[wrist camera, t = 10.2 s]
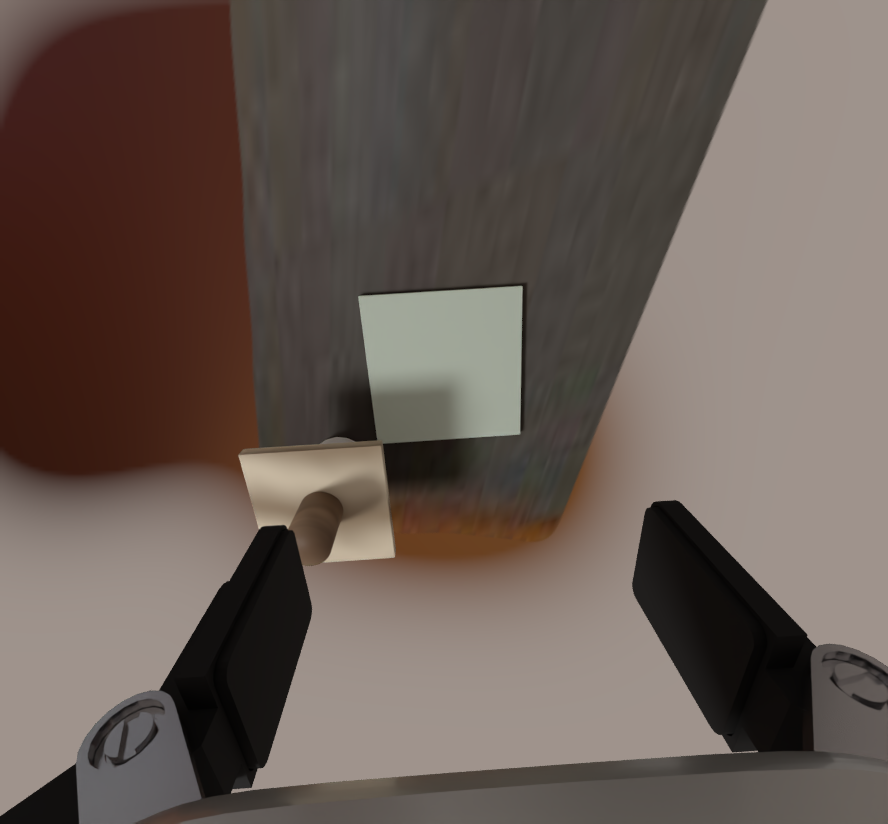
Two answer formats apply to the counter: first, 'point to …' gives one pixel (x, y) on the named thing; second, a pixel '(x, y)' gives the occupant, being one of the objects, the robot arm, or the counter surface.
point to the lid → (324, 498)
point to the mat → (444, 363)
